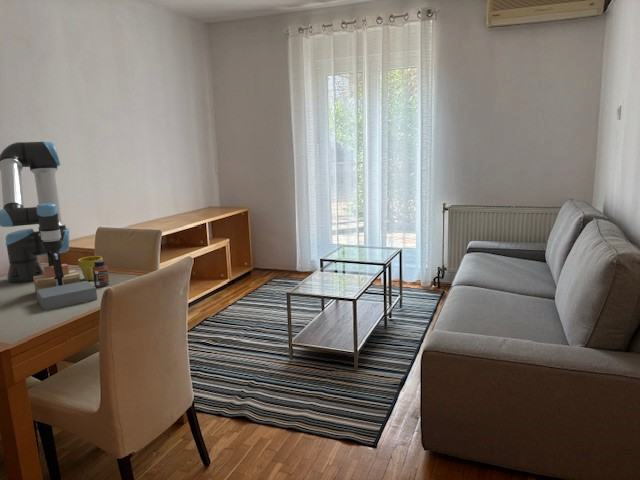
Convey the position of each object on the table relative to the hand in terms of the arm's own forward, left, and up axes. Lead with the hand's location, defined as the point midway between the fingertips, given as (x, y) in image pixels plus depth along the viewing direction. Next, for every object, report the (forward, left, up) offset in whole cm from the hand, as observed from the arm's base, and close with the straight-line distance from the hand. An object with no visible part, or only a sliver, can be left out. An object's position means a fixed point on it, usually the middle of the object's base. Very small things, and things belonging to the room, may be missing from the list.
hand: (58, 289), depth 206 cm
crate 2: (0, +2, +7) cm, 7 cm away
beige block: (0, 0, 0) cm, 0 cm away
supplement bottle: (+5, +16, -1) cm, 17 cm away
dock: (+18, 0, 0) cm, 18 cm away
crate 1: (0, -2, +7) cm, 7 cm away
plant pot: (-11, +16, -1) cm, 20 cm away
